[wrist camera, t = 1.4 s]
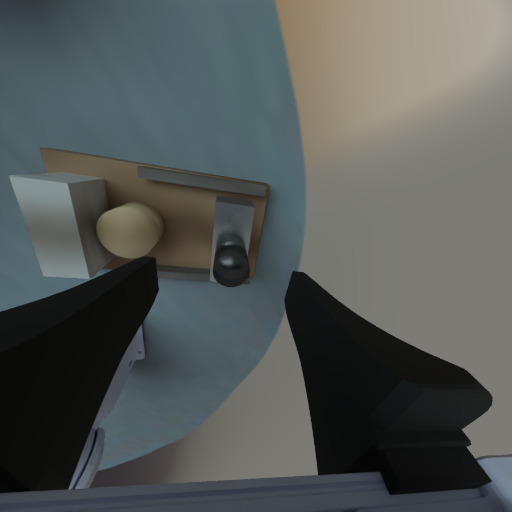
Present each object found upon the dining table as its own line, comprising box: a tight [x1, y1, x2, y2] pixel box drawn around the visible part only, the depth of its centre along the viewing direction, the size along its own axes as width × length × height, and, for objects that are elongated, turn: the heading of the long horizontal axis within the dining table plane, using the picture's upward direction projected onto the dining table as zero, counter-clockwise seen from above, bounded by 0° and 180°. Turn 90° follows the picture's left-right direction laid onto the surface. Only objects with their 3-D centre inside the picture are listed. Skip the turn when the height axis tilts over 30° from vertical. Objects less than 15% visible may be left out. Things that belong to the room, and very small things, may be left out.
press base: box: [9, 148, 269, 284], centre depth 17 cm, size 10×18×6 cm, turn 81°
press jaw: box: [210, 195, 255, 287], centre depth 16 cm, size 7×3×7 cm, turn 171°
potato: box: [96, 201, 165, 259], centre depth 16 cm, size 4×4×3 cm
